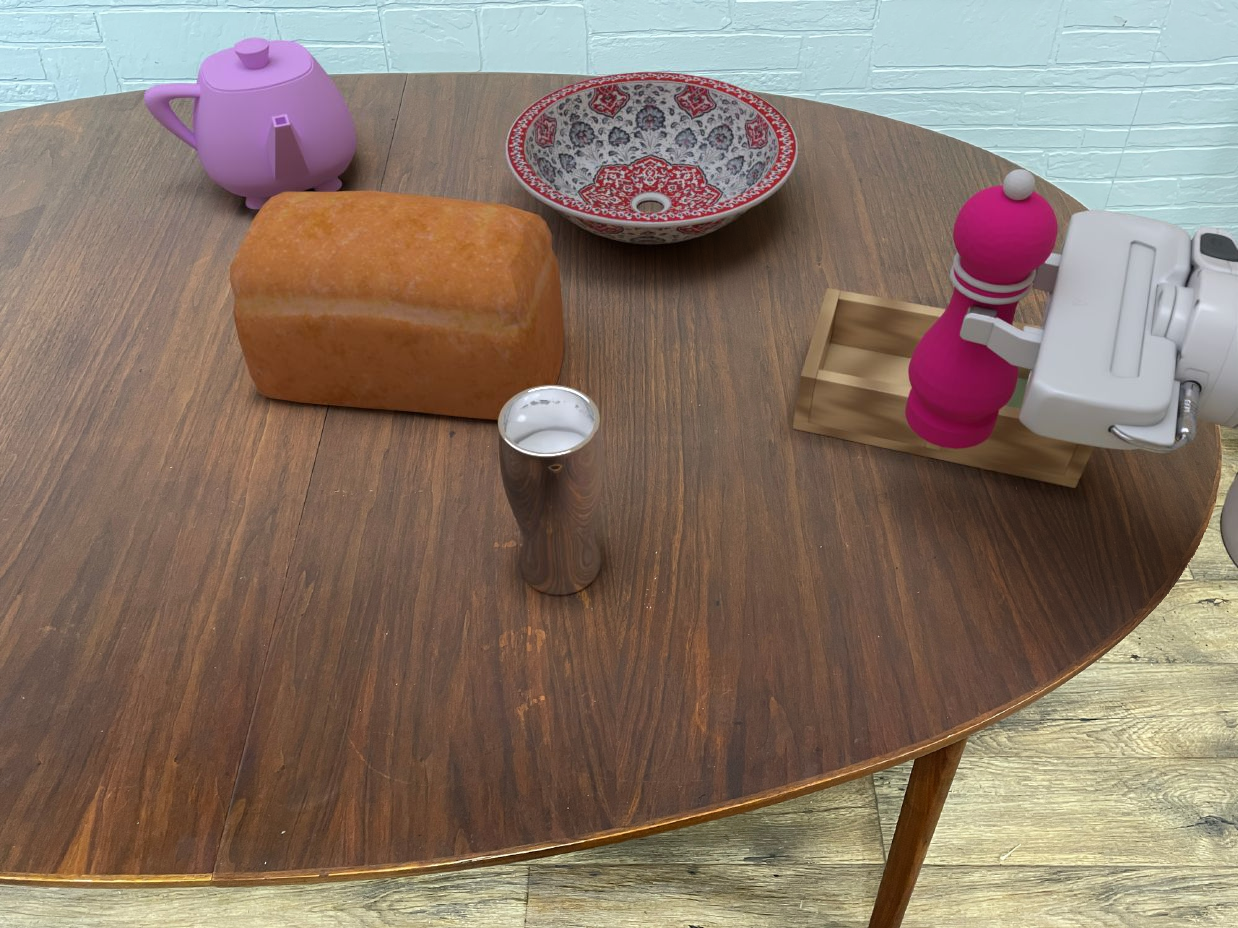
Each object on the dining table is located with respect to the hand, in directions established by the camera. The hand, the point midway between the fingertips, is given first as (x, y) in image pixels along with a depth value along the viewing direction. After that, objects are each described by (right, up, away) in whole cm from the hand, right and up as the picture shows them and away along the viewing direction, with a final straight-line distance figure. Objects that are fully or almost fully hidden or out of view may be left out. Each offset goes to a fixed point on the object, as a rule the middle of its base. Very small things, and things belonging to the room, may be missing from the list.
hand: (972, 292), depth 67 cm
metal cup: (-27, -19, +10) cm, 35 cm away
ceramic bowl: (-20, +16, +42) cm, 49 cm away
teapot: (-60, +19, +46) cm, 78 cm away
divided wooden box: (+4, -6, +21) cm, 22 cm away
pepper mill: (+1, -8, +8) cm, 11 cm away
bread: (-41, -2, +26) cm, 49 cm away
